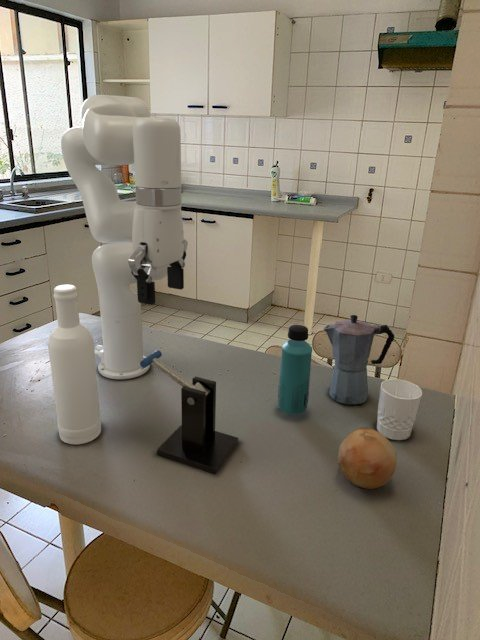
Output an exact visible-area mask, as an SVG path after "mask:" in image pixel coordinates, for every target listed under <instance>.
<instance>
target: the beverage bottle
mask: <svg viewBox="0 0 480 640" xmlns="http://www.w3.org/2000/svg"><path fill="white" fill-rule="evenodd" d="M287 338H288V340H287V341H285V342H284V343H283V344H282V346H281V358H280V369H279V377H278V378H279V379H278V380H279V382H278V391H277V405H278V408H279V409H280V410H281V411H283V413H285V414H289V415H299V414H300V415H301V414H303V413H304V412H306V410H307V409H308V404H309V398H310V397H309V396H310V382H311V371H312V355H313V354H312V353H313V347H312V345H311V344H310V343H309V342H308V341H307V340H308V339H309V328H308V327H307V326H306V325H302V324H293V325H291V326H288V332H287Z"/></svg>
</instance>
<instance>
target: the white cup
mask: <svg viewBox="0 0 480 640" xmlns="http://www.w3.org/2000/svg"><path fill="white" fill-rule="evenodd" d="M422 396H423V390H422V388H420V386H419V385H417V384H416V383H413V382H411V381H408V380H405V379H401V378H400V379H399V378H389V379H385V380H383V381H382V382H381V383H380V388H379V396H378V397H379V398H378V406H377V416H376V417H377V421H376V431H378V432H379V433H381V434H382V435H384V436H385V437H386V438H387V439H388V440H389V439H390V440H392V441H404V440H407V439H409V438H410V437H411V434H412V430H413V427H414V424H415V422H416V418H417V414H418V411H419V408H420V403H421V400H422Z"/></svg>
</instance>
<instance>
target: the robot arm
mask: <svg viewBox="0 0 480 640" xmlns="http://www.w3.org/2000/svg"><path fill="white" fill-rule="evenodd" d="M79 113H80V114H79V115H80V119H81V123H82V126H75V127H71V128H68V129H66V130H65V131H64V133H63V134H62V136H61V139H60V148H61V153H62V154H61V155H62V159H63V162H64V165H65V168H66V171H67V172H68V174H69V176H70V178H71V179H72V181H73V183H74V184H75V186H76V188H77V190H78V192H79V194H80V196H81V201H82V205H83V209H84V213H85V216H86V217H85V218H86V220H87V225H88V227H89V231H90V234H91V236H92V237H93V239H94V240H95V241H96V242H98V243H102V245H100V246H98V247H96V248H95V249H94V250H93V252H92V255H91V265H92V266H91V267H92V271H93V275H94V278H95V279H94V280H95V282H96V287H97V292H98V293H97V294H98V302H99V315H100V326H101V327H100V328H101V337H102V344H101V345H100V344H96V345H95V346H94V352H95V357H98V358H100V362H99V363H98V365H97V369H98V374H100V375H101V376H103V377H104V378H106V379H107V378H108V379H111V380H129V379H135V378H137V377H141V376H142V375H144V374H146V373H147V372H148V371H149V369H151V368H150V367H151V364H150V365H149V366H147V367H146V368H143V367H141V365H140V362H141V361H142V360H143V359H145V358H146V357H147V356H145V355H144V344H143V343H144V341H143V340H144V339H143V319H142V304H146V305H150V306H153V305H155V304H156V284H155V281H158V280H159V281H160V280H163V279H165V278H166V277H167V287H168V288H169V289H174V290H181V291H182V290H183V289H184V288H185V278H184V277H185V275H184V274H185V272H184V268H185V267H186V262H185V259H186V257H187V249H188V244H189V243H188V240H186V239H185V237H184V235H185V234H184V223H183V222H184V221H183V214H182V203H183V202H182V200H183V199H182V141H181V140H182V138H181V137H182V136H181V126H180V124H179V122H178V120H176V119H173V118H170V117H155V116H151V111H150V109H149V107H148V104H147V103H146V102H145V101H144V100H143V99H141V98H139V97H135V96H126V95H112V94H94V95H92V96H89V97H87V98H86V99H85V100H84V101H83V103H82V104H81V108H80V112H79ZM130 165H133V167H134V185H135V187H134V188H135V200H130V201H127V200H126V201H123V200H122V199H120V196H119V193H118V188H117V186H116V184H115V182H114V181H113V180H112V179H111V178H110V177H109V175H107V174H106V173H105V172H104V171H102V170H101V169H99V168H98V167H97V166H130ZM132 284H136V292H135V291H134V290H133V289H132V288H130V285H132Z"/></svg>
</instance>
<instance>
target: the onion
mask: <svg viewBox="0 0 480 640" xmlns="http://www.w3.org/2000/svg"><path fill="white" fill-rule="evenodd" d="M397 463H398V457H397V452H396V450H395V448H394V446H393V445H392V443H391V442H390V440H389V438H387V437H385V436H384V435H382V434H381V433H379V432H378V430H377V429H376V430H375V429H372V428H370V427H364V426H363V427H359V428H356V429H354V430H353V431H351V432H350V433H348V434H347V436H345V438H344V439H343V440H342V442H341V443H340V445H339V448H338V456H337V465H338V467H339V470H340V471H341V473H342V474H343V475H344V477H345V478H346V479H347V480H348V481H349V482H350V483H352V484H353V485H355V486H357V487H359V488H363V489H367V490H375V489H378V488H381V487H382V486H383V485H385V484H387V482H389V480H391V479H392V477H394V475H395V472H396V468H397Z"/></svg>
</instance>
